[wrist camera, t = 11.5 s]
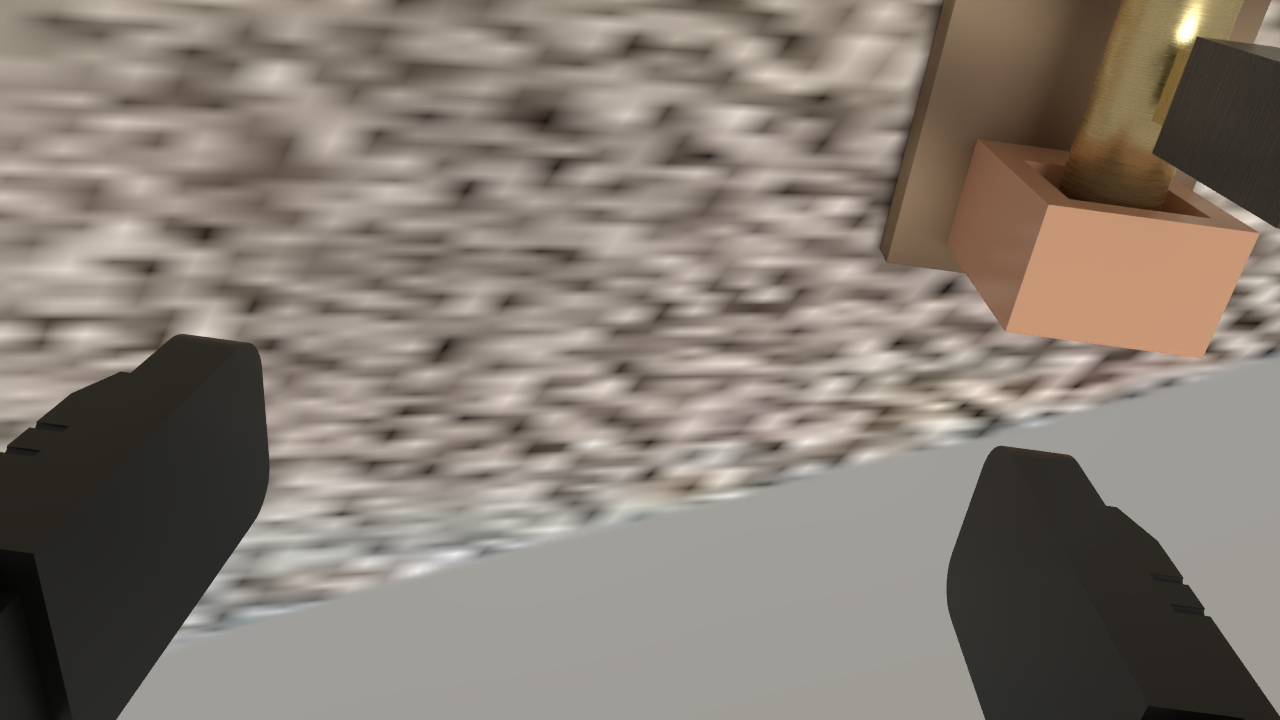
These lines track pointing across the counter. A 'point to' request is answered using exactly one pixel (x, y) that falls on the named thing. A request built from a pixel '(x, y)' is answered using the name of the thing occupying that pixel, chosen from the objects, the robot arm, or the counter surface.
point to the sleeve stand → (1000, 103)
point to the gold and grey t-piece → (1179, 111)
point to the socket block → (1094, 256)
